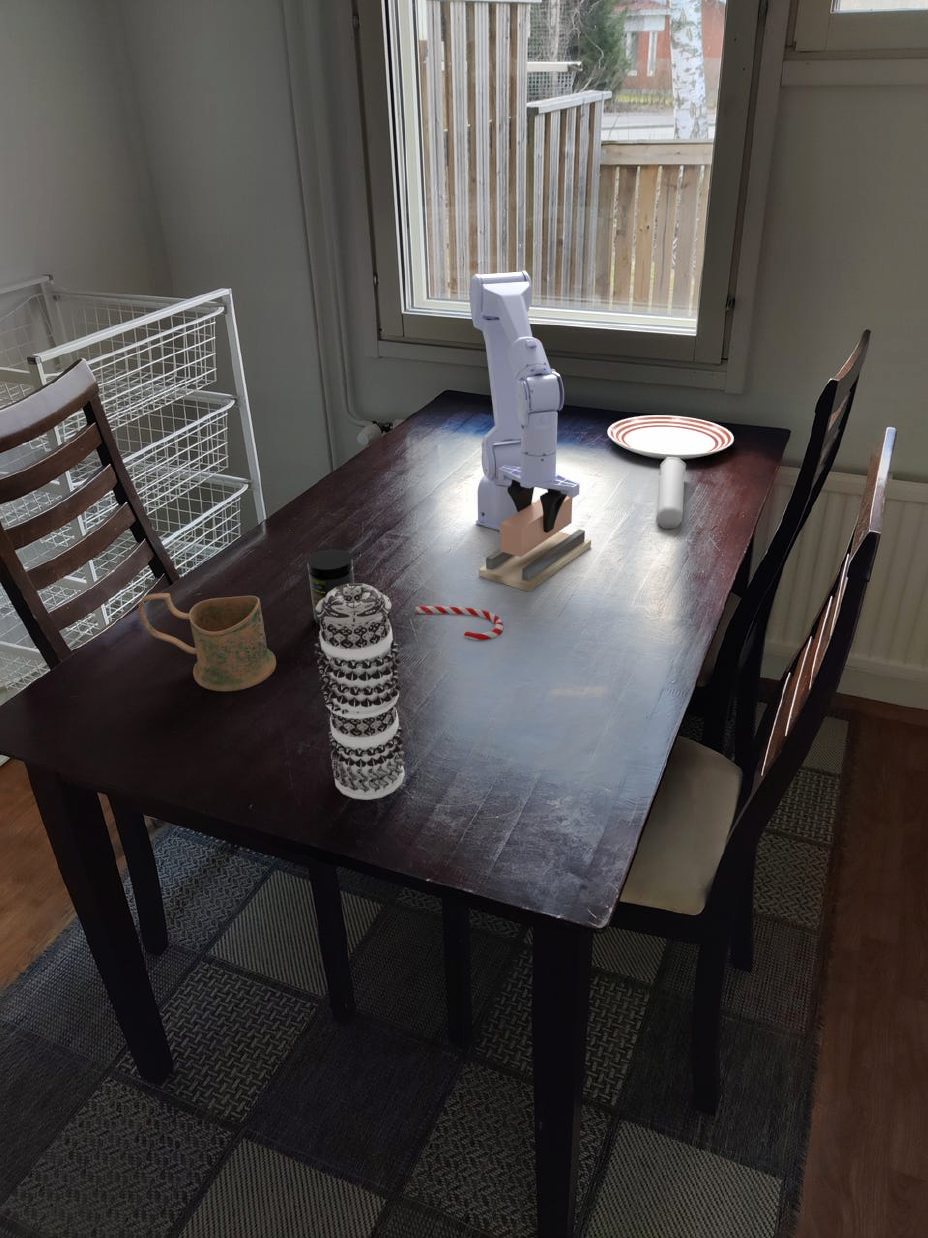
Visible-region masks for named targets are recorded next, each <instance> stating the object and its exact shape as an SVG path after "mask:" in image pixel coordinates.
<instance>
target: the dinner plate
mask: <svg viewBox="0 0 928 1238" xmlns="http://www.w3.org/2000/svg"><path fill="white" fill-rule="evenodd" d="M607 436H608V437H609V438H610V440H611V441H613V442H614V443H615V444H616V445H618V446H620V447H622V448H624V449H625V450H628V451H631V452H633V453H636V454H639V455H641V456H645V457H647V458H653V459H659V460H665V459H666V458H667V457H675V458H679V459H680V460H682V461H683V460H690V459H695V458H696V459H697V458H700V457H704V456H710V455H712V454H715V453H719V452H720V451H724V450H725V449H727V448H728V447H730V446H731V445H733V443H734V440H735V439H734V438H735V437H734V435H733V433H732V432H731V431H730V430H728V429H727V428H726V427H723V426H721V424H720V425H719V424H717V423H715V422H711V421H708V420H703V419H698V418H694V417H688V416H681V415H680V416H679V415H661V414H660V415H659V414H658V415H657V414H656V415H655V414H654V415H640V416H633V417H628V418H625V419H624V418H623V419H621V420H618V421H616V422H614V423H612V424H611V425H610V426H609V427H608V429H607Z"/></svg>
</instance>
